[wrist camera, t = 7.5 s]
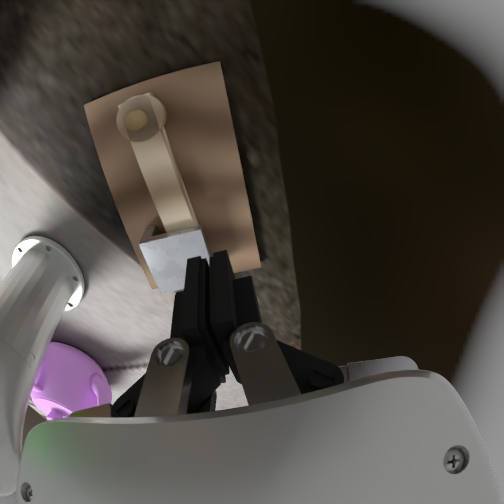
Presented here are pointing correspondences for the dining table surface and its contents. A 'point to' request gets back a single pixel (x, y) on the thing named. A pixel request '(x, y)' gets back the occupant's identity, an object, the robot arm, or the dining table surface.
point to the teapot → (69, 382)
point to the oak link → (156, 159)
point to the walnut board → (182, 162)
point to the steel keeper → (172, 254)
